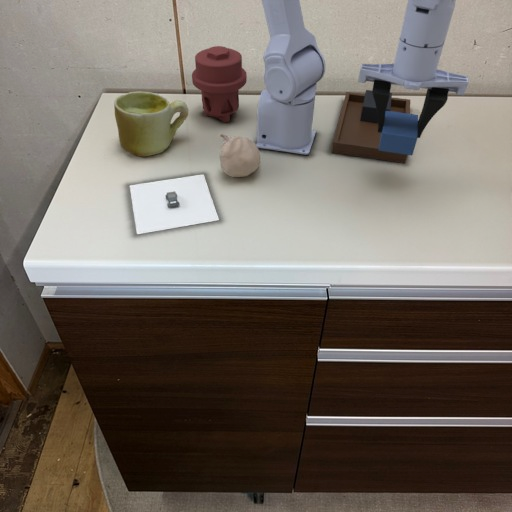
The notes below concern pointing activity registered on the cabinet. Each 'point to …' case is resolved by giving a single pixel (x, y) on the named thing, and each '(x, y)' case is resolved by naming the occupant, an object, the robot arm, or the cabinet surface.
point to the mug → (147, 122)
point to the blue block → (399, 133)
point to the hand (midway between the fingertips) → (398, 131)
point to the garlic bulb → (239, 156)
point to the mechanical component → (219, 80)
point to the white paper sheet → (172, 204)
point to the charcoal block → (371, 108)
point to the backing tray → (363, 130)
